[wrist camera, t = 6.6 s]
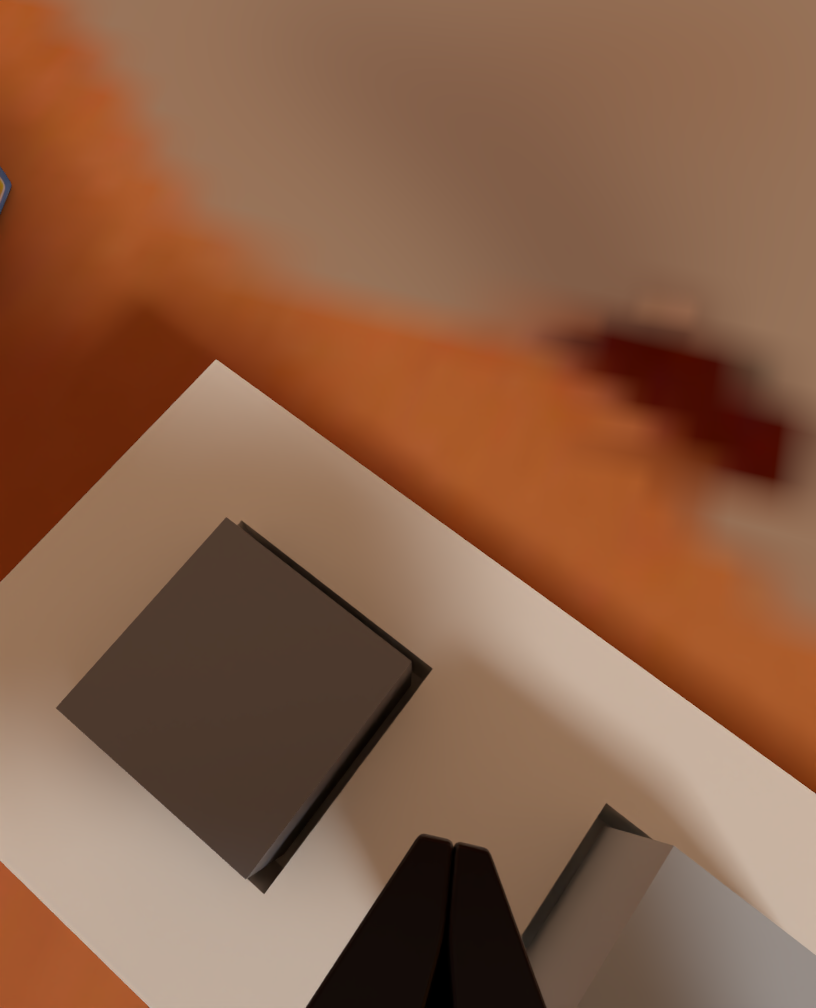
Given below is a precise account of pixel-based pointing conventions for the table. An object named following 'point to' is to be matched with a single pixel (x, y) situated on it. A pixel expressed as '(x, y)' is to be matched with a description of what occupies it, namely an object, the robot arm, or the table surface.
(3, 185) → the ink cartridge box
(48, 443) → the table surface
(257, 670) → the charcoal key
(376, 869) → the keypad
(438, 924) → the robot arm
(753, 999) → the slate key
